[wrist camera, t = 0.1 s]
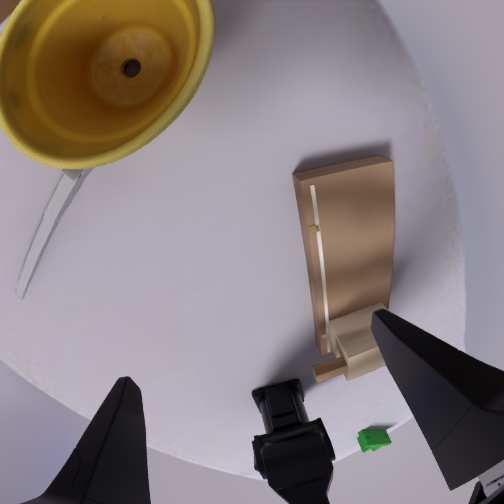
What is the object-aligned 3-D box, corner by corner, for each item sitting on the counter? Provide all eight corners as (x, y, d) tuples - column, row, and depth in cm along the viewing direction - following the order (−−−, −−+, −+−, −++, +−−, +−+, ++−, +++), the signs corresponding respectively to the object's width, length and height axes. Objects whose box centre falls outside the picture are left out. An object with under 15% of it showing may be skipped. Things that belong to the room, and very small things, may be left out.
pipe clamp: (349, 437, 53) (355, 453, 49) (361, 429, 52) (368, 445, 48) (374, 436, 58) (380, 450, 54) (385, 429, 56) (392, 443, 53)
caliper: (115, 122, 18) (83, 133, 12) (126, 131, 18) (97, 144, 13) (17, 291, 22) (-8, 332, 17) (24, 297, 23) (0, 339, 18)
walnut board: (377, 321, 32) (385, 333, 30) (316, 343, 32) (322, 357, 30) (379, 155, 22) (393, 161, 20) (292, 173, 22) (300, 181, 20)
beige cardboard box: (378, 327, 30) (399, 358, 25) (303, 354, 29) (318, 391, 25) (381, 301, 28) (405, 334, 23) (300, 330, 27) (316, 369, 23)
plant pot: (231, 98, 18) (257, 96, 10) (102, 163, 19) (41, 213, 10) (177, -18, 13) (165, -88, 4) (51, 53, 13) (-30, 41, 5)
